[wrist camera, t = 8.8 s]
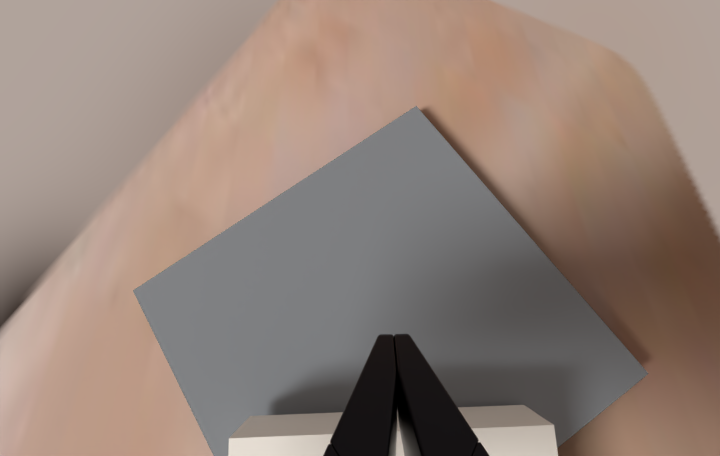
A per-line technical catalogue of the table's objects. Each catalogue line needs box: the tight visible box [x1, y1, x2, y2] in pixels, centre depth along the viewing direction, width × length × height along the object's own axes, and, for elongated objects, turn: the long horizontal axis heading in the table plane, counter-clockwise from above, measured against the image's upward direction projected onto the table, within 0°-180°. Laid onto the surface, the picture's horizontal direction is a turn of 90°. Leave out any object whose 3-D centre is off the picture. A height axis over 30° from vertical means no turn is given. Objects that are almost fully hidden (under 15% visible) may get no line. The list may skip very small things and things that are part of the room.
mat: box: [133, 106, 648, 456], centre depth 17 cm, size 17×18×1 cm
